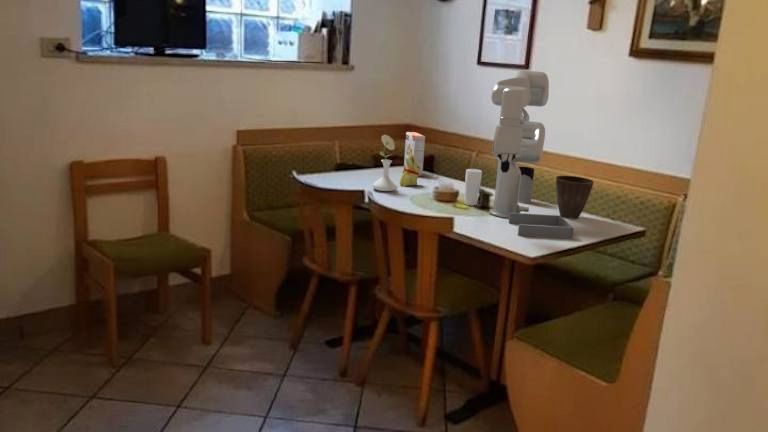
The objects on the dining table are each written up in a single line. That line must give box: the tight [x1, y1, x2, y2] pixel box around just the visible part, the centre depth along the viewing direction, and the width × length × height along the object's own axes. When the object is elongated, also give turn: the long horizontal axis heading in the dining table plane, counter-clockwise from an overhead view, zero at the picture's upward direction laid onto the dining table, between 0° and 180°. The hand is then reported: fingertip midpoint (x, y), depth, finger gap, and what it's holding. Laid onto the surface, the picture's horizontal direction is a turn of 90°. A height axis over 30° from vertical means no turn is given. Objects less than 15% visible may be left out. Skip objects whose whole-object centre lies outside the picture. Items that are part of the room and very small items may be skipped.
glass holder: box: [518, 166, 535, 204], centre depth 301 cm, size 9×14×15 cm, turn 163°
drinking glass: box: [464, 168, 483, 207], centre depth 284 cm, size 7×7×15 cm
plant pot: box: [555, 175, 594, 220], centre depth 274 cm, size 15×15×16 cm
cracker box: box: [403, 131, 426, 177], centre depth 344 cm, size 14×6×21 cm, turn 17°
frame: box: [508, 212, 575, 239], centre depth 251 cm, size 20×18×4 cm
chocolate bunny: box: [399, 154, 420, 187], centre depth 316 cm, size 7×11×15 cm, turn 124°
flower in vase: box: [372, 134, 398, 192], centre depth 300 cm, size 13×11×25 cm
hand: (504, 171), depth 247 cm, fingers closed
